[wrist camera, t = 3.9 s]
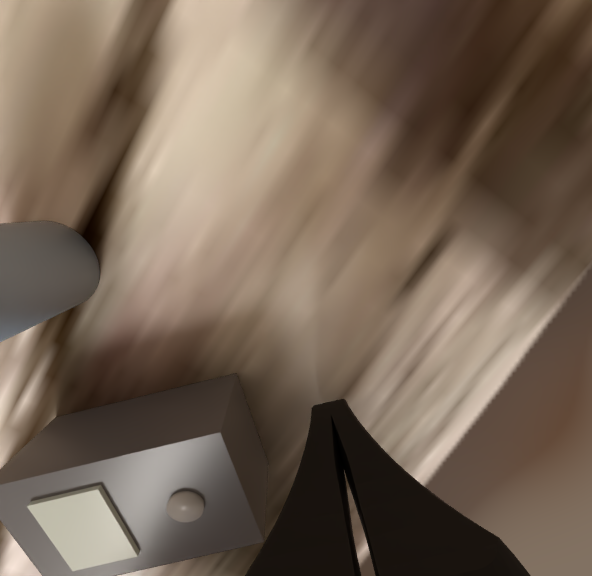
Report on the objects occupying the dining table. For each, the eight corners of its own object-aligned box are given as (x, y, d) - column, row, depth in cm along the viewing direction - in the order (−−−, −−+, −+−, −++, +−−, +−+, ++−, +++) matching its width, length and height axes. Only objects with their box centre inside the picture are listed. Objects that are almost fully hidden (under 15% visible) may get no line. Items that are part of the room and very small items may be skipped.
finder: (268, 459, 14) (263, 547, 10) (108, 496, 14) (49, 595, 10) (237, 370, 12) (219, 436, 9) (60, 413, 12) (-28, 495, 9)
